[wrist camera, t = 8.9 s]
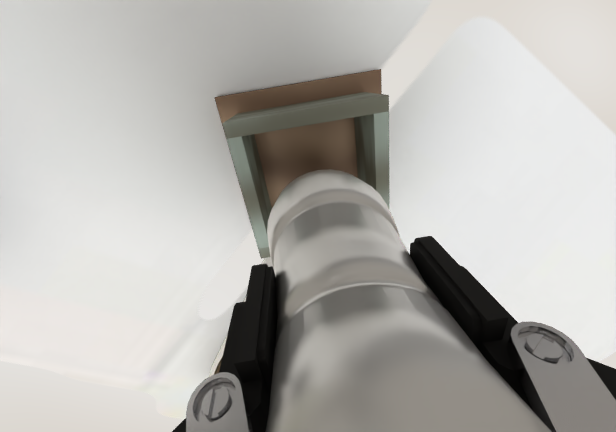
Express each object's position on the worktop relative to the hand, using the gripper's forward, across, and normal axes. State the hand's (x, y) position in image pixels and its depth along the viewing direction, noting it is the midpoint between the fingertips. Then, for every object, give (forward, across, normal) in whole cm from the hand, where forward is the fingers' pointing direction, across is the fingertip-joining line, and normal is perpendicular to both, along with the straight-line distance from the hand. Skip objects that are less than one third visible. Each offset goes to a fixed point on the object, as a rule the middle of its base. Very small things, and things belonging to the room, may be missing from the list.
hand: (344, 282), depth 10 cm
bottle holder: (+17, 0, 0) cm, 17 cm away
